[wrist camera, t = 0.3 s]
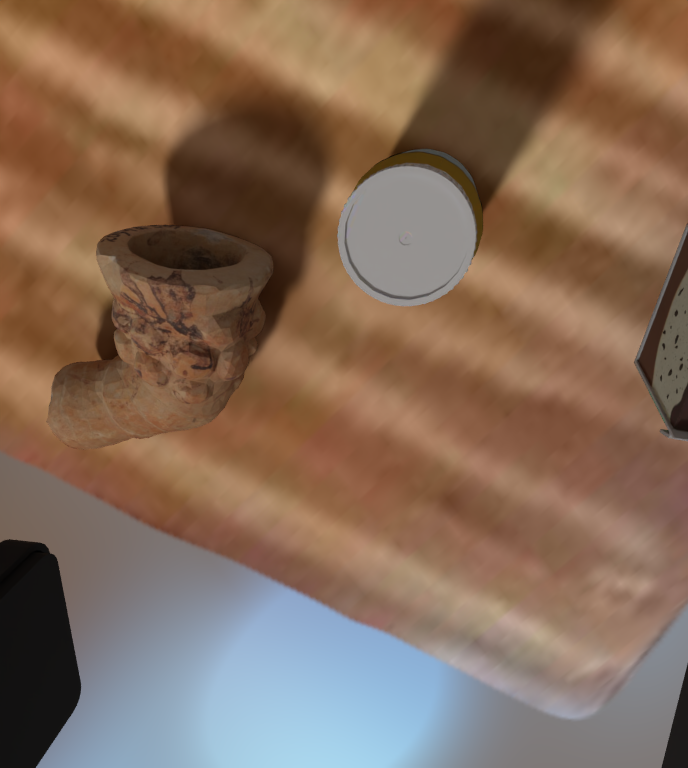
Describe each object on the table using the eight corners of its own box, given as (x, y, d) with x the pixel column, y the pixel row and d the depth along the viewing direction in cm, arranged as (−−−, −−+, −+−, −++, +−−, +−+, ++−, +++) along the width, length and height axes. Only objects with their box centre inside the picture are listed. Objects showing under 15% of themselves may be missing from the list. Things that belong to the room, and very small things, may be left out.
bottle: (455, 130, 40) (453, 125, 26) (492, 235, 42) (509, 283, 28) (354, 175, 42) (302, 194, 28) (393, 274, 44) (363, 337, 30)
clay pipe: (327, 348, 51) (258, 165, 42) (315, 440, 42) (225, 236, 34) (117, 393, 55) (14, 235, 46) (68, 486, 46) (-69, 314, 38)
